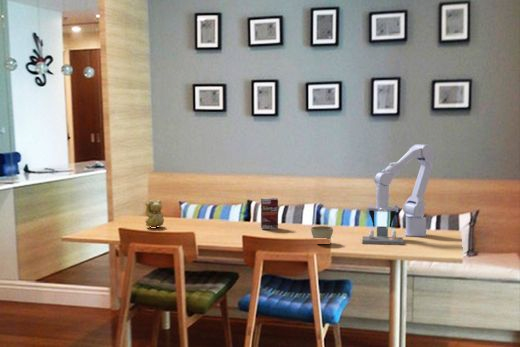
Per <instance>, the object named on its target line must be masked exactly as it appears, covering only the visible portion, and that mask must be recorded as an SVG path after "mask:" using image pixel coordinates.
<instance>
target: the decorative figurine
mask: <svg viewBox="0 0 520 347" xmlns="http://www.w3.org/2000/svg"><path fill="white" fill-rule="evenodd" d="M144 206H146V209H145V214H146V216H147V218H146V219H145V225H146V227H149V228H150V226H151V227H157V226H159V227H161V226H163V225H164V222H165V219H164V214H163V212H162V209H163V207H162V206H163V204H162V200H161V199H158V200H156V202H155V201H154V200H153V199H150V200H149V202H145V205H144Z"/></svg>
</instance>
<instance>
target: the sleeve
mask: <svg viewBox="0 0 520 347" xmlns="http://www.w3.org/2000/svg"><path fill="white" fill-rule="evenodd" d="M388 235H389V228H388V226H384V225H383V226H382V225H381V226H380V225H379V226H378V225H376V237H389V236H388Z"/></svg>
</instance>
